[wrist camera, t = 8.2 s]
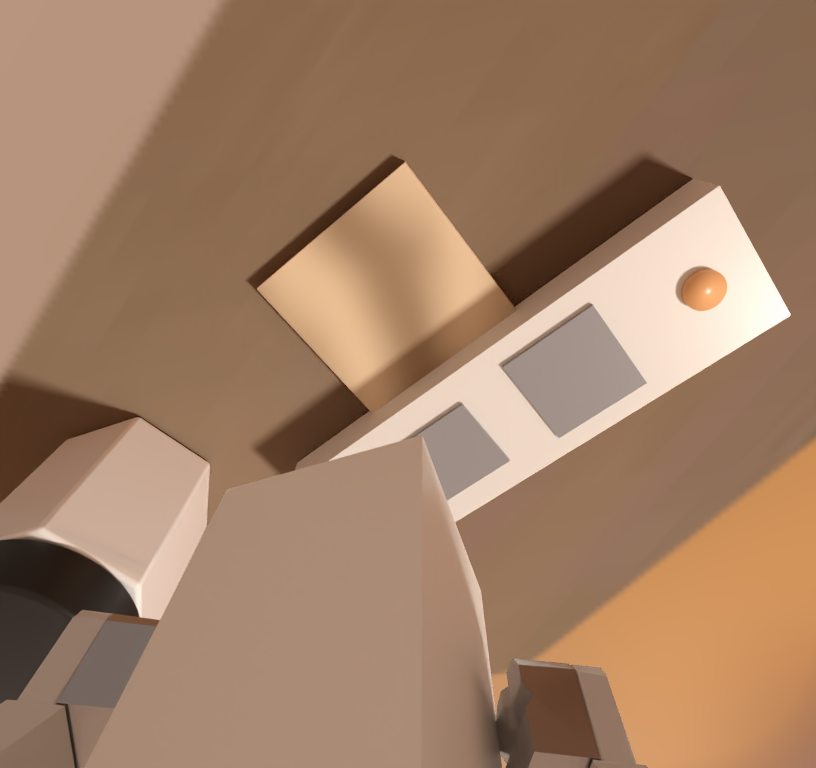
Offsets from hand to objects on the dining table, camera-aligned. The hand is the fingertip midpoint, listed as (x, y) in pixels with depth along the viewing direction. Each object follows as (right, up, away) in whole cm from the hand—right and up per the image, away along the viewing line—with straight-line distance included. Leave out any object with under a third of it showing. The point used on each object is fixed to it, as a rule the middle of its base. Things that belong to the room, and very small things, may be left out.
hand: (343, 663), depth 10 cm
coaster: (0, +9, +19) cm, 21 cm away
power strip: (+4, +3, +21) cm, 22 cm away
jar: (-14, -1, +24) cm, 27 cm away
